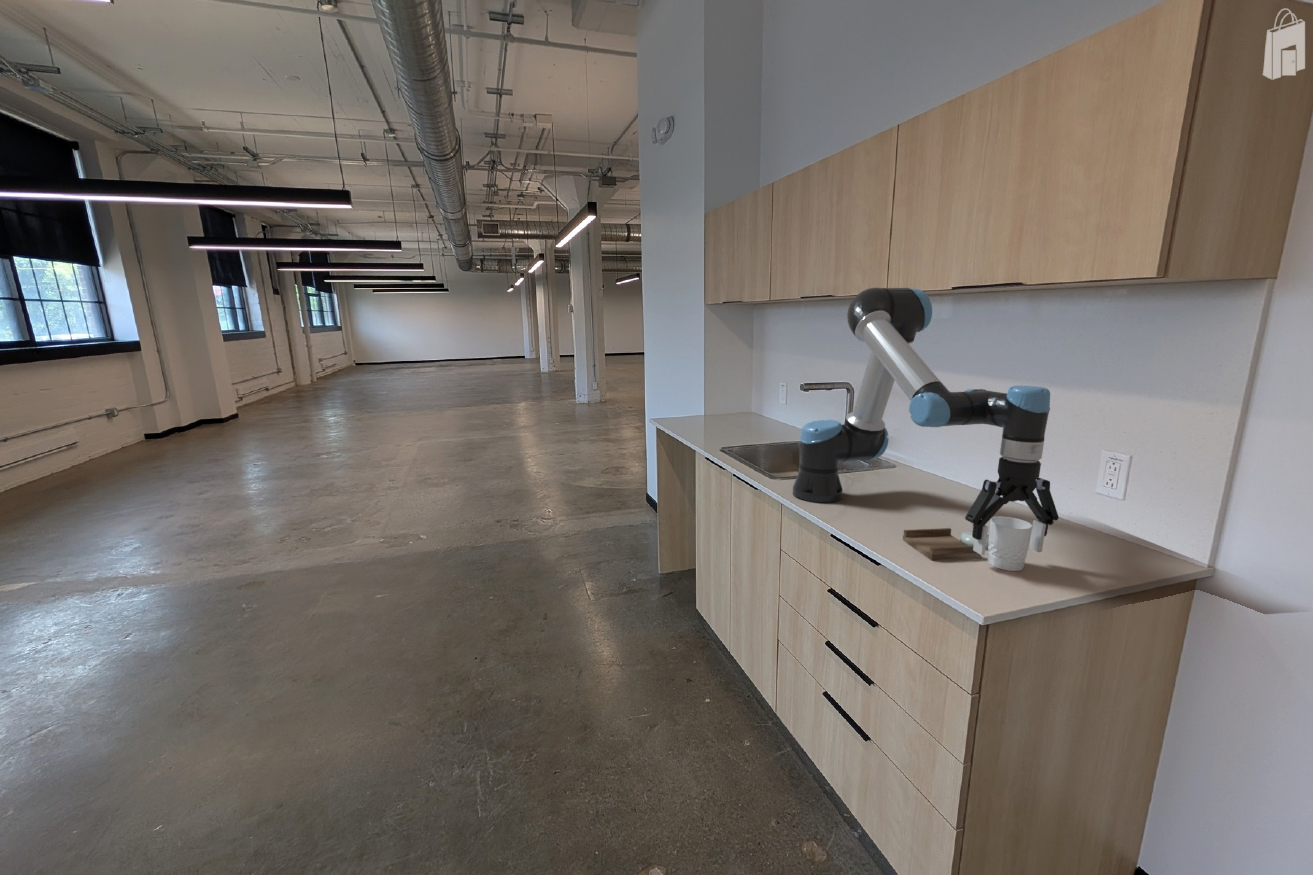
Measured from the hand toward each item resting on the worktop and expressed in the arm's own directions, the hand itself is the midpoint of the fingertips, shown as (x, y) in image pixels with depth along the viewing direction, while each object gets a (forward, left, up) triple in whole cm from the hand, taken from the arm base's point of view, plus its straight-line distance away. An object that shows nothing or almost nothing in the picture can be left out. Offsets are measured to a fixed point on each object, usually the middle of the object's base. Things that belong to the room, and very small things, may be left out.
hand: (1007, 551), depth 120 cm
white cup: (0, 0, -4) cm, 4 cm away
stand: (-10, -9, -3) cm, 14 cm away
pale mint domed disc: (-12, +2, -4) cm, 13 cm away
